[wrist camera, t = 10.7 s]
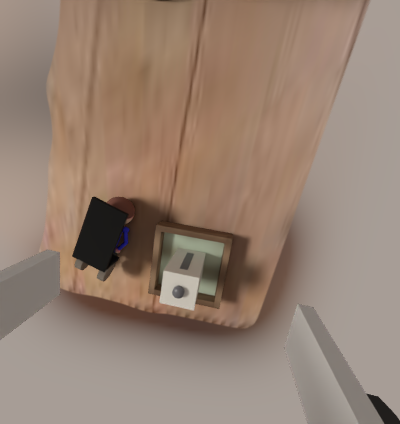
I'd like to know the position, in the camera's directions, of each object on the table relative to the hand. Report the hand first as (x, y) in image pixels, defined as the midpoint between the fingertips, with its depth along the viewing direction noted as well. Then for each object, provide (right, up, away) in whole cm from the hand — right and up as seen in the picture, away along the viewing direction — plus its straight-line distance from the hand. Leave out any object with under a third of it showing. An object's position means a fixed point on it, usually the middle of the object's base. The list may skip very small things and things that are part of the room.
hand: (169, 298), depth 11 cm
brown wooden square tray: (0, -4, +27) cm, 27 cm away
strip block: (0, -5, +26) cm, 26 cm away
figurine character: (-14, +1, +28) cm, 32 cm away
